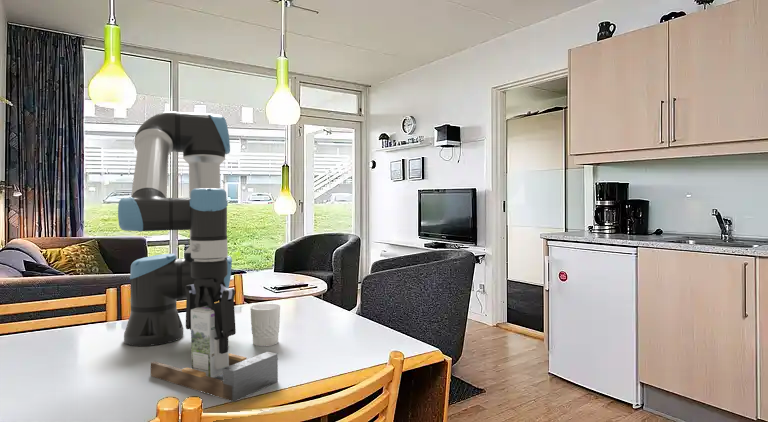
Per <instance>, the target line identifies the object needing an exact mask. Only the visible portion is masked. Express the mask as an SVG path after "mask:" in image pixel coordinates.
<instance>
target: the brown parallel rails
mask: <svg viewBox="0 0 768 422" xmlns="http://www.w3.org/2000/svg"><path fill="white" fill-rule="evenodd" d="M246 359H248V357H246V356H242V355H239V354H234V353H229V366H230V365H233V364H236V363H238V362H241V361H244V360H246ZM150 377H153V378H156V379H159V380H162V381H166V382H168V383H171V384H175V385H178V386H181V387H185V388H188V389H191V390H194V391H197V390H198V391H197V392H201V391H202V392H201V393H204V392H205V394H207V393H209V394H208V395H210V394H212V395H211V396H213V395H214V396H213V397H217V398H220V399H223V398H224V399H223V400H227V401H230V400H231V398H232V396H231V394H232V389H231V387H232V386H230V385H227V384H223V379H218V378H217V377H214V378H212V377H209V376H206V372H202V371H198V370H195V369H192V367H187V366H186V367H184V368H180V367H176V366H173V365H169V364H166V363H162V362H160V361H159V362H158V361H156V360H154V361H151V362H150ZM223 386H224V387H223ZM225 386H226V387H225ZM229 386H230V388H229ZM227 387H228V388H229V390H228V388H227ZM223 388H225V389H226V390H225V389H223ZM230 389H231V390H230ZM223 390H224V392H223ZM226 391H228V392H227V393H226ZM223 395H226V396H227V395H228V396H229V397H230V398H229V399H228V396H227V397H226V396H224V397H223ZM230 402H231V401H230Z"/></svg>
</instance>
